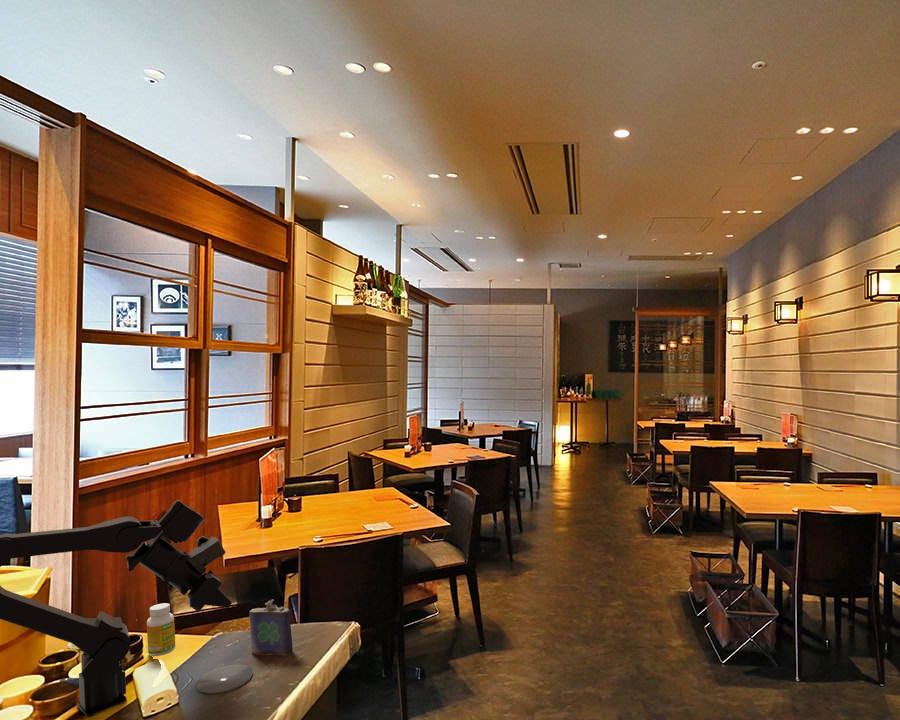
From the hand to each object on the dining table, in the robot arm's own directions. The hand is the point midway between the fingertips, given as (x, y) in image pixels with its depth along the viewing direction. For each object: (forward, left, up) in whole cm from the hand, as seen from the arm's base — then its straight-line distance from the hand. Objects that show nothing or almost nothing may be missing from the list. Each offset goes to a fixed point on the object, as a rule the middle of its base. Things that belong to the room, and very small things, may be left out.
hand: (230, 604), depth 120 cm
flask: (+8, -2, -12) cm, 14 cm away
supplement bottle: (-6, +20, -12) cm, 24 cm away
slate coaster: (-4, -5, -12) cm, 14 cm away
